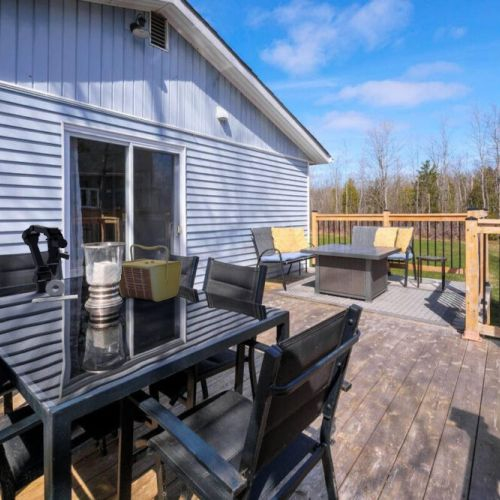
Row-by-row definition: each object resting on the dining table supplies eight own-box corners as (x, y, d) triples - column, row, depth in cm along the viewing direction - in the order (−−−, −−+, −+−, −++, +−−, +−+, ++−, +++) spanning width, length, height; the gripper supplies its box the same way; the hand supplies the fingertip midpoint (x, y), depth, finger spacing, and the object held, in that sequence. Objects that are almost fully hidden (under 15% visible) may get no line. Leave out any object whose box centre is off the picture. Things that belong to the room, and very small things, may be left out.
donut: (65, 295, 199) (65, 278, 198) (66, 296, 196) (65, 279, 195) (46, 297, 194) (45, 279, 194) (45, 298, 191) (44, 280, 191)
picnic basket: (114, 298, 190) (111, 245, 187) (147, 290, 213) (146, 242, 210) (152, 305, 177) (151, 247, 174) (184, 295, 199) (183, 244, 196)
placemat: (33, 299, 188) (33, 298, 188) (77, 295, 198) (77, 294, 198) (31, 303, 181) (31, 302, 181) (77, 298, 191) (77, 297, 191)
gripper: (68, 248, 193) (70, 275, 195) (69, 246, 210) (71, 271, 211) (45, 249, 188) (47, 277, 190) (48, 247, 205) (50, 273, 206)
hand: (55, 274), depth 199 cm, fingers open, 9 cm apart
